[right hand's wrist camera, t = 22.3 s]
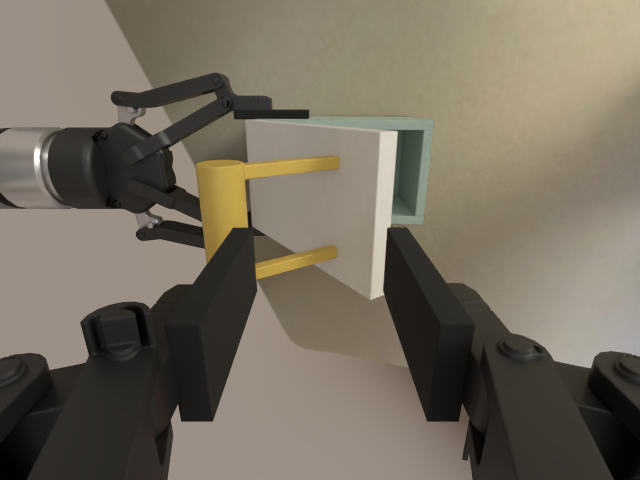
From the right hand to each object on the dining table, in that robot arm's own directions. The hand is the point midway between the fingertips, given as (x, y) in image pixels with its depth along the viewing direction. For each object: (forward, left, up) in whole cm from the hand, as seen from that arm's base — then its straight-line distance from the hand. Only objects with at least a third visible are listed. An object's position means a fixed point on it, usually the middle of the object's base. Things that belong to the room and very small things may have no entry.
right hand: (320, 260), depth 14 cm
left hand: (0, -1, -22) cm, 22 cm away
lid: (0, -1, -12) cm, 12 cm away
